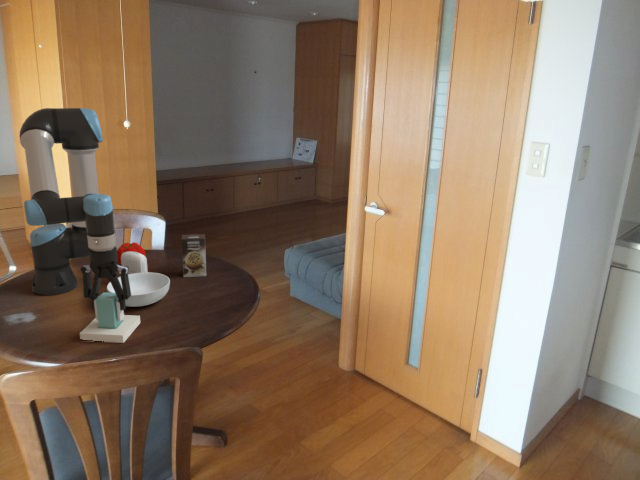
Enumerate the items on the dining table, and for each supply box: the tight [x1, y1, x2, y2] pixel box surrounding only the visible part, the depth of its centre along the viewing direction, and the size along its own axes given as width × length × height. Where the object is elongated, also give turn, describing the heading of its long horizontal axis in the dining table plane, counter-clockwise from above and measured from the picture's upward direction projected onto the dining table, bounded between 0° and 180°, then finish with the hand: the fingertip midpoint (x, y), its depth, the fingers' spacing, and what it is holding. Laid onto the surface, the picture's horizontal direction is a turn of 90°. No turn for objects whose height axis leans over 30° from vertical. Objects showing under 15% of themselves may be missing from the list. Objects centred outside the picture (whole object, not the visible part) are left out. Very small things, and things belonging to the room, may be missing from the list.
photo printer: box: [120, 251, 149, 274], centre depth 188 cm, size 10×4×12 cm, turn 69°
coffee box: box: [181, 233, 207, 278], centre depth 198 cm, size 9×6×16 cm
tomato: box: [117, 242, 147, 266], centre depth 206 cm, size 11×12×9 cm
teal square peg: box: [96, 291, 122, 329], centre depth 151 cm, size 5×5×12 cm
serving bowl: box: [106, 271, 171, 308], centre depth 174 cm, size 21×21×7 cm
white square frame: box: [79, 314, 141, 344], centre depth 152 cm, size 13×13×2 cm
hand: (110, 318), depth 151 cm, fingers open, 6 cm apart
